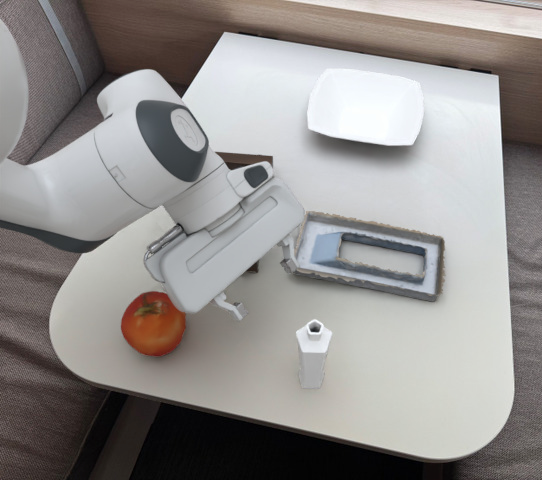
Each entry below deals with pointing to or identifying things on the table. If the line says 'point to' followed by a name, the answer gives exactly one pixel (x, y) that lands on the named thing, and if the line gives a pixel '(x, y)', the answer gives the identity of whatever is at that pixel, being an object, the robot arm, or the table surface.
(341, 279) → the picture frame
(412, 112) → the bowl
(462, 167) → the table surface
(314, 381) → the perfume bottle
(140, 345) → the tomato
